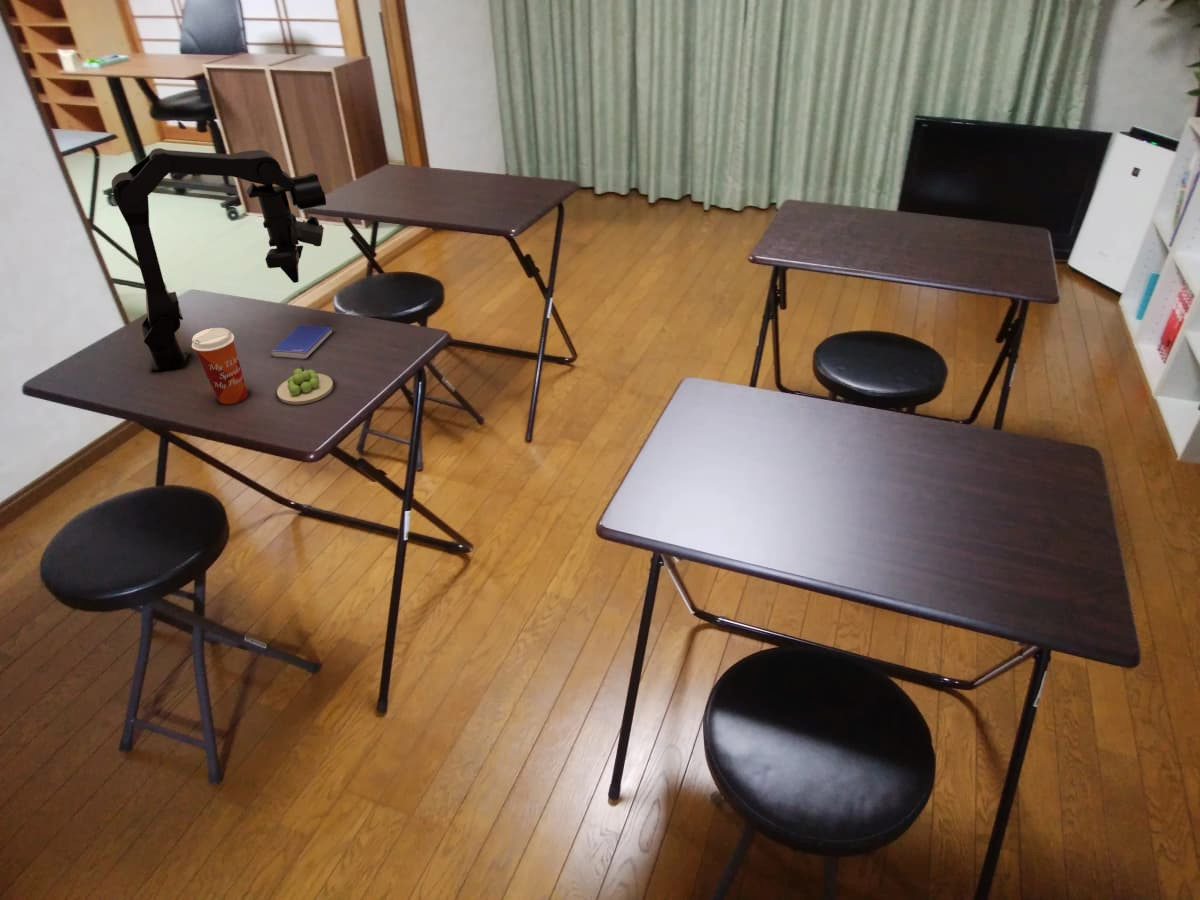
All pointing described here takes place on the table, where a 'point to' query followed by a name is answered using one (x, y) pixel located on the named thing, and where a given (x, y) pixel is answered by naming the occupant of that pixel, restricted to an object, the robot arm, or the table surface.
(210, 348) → the paper cup
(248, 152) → the robot arm
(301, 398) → the grape saucer
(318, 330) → the blue book
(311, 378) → the green grapes
